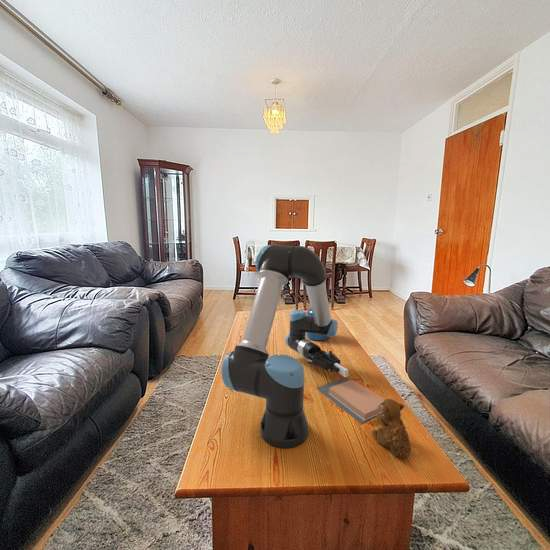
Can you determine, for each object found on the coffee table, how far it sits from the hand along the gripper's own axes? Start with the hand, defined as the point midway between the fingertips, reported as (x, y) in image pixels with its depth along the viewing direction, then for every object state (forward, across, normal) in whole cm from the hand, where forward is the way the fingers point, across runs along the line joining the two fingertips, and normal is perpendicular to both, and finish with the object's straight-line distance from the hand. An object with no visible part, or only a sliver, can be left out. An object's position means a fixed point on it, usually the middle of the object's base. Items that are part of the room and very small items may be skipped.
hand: (346, 373), depth 110 cm
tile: (-3, 0, -7) cm, 7 cm away
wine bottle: (-51, -26, -9) cm, 58 cm away
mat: (+3, 0, -8) cm, 9 cm away
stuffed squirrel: (+27, +7, -9) cm, 29 cm away
